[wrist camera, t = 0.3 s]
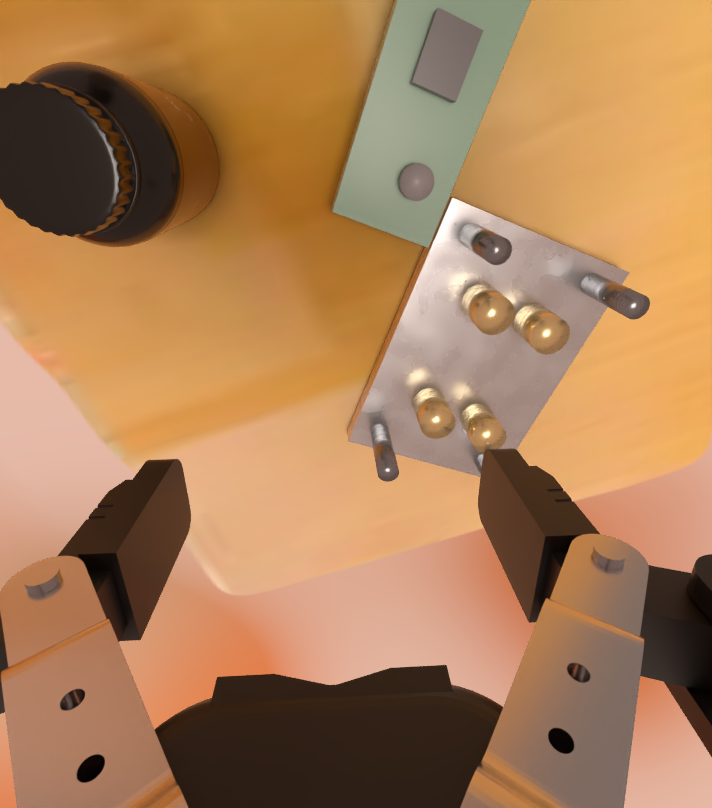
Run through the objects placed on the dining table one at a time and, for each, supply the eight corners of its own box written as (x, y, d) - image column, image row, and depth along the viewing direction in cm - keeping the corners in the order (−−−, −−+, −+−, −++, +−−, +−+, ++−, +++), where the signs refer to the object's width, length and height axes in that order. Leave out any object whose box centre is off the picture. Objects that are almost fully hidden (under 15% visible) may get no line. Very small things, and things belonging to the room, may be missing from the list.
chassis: (446, 195, 28) (478, 207, 22) (616, 267, 31) (682, 293, 25) (347, 430, 36) (352, 483, 30) (490, 469, 39) (519, 524, 33)
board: (405, -38, 23) (420, -71, 20) (508, 16, 24) (539, -6, 21) (331, 205, 28) (332, 214, 25) (418, 239, 30) (431, 251, 26)
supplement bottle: (198, 75, 24) (106, 21, 14) (235, 211, 28) (184, 249, 17) (73, 99, 24) (-111, 63, 14) (125, 231, 28) (8, 281, 17)
